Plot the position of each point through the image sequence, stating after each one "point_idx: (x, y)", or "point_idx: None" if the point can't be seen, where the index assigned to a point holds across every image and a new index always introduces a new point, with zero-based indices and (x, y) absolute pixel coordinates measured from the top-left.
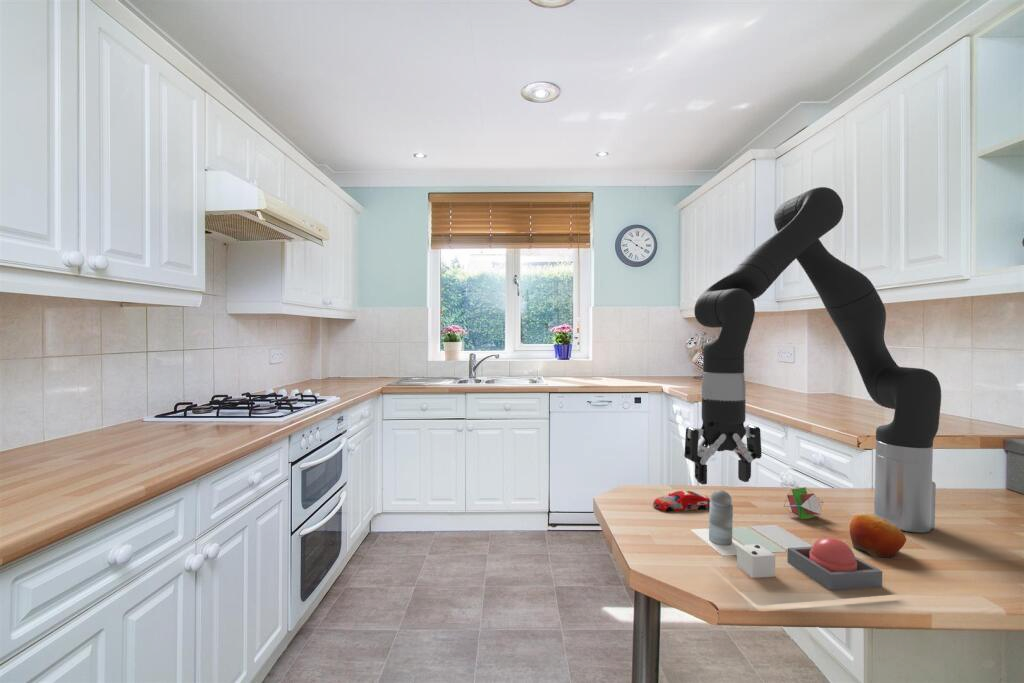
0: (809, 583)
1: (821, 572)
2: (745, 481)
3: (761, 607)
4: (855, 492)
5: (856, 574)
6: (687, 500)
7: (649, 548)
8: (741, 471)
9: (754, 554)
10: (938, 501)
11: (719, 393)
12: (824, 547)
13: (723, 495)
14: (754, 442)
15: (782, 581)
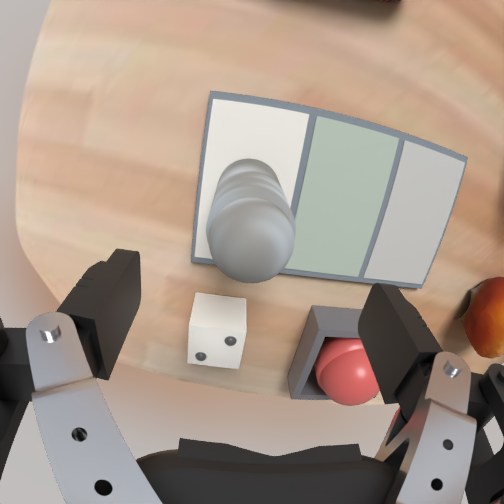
0: (288, 352)
1: (295, 383)
2: (358, 327)
3: (158, 371)
4: None
5: None
6: None
7: (59, 168)
8: (382, 331)
9: (196, 359)
10: None
11: None
12: (332, 394)
13: (237, 280)
14: (469, 494)
15: (248, 340)
